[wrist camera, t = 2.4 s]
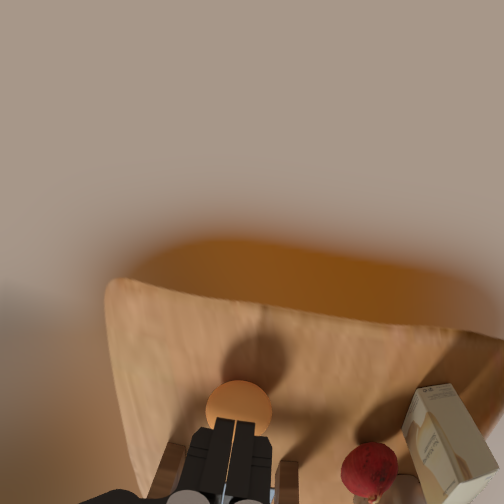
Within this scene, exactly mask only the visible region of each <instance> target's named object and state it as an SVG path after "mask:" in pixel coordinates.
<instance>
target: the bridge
mask: <svg viewBox="0 0 504 504" xmlns="http://www.w3.org/2000/svg"><path fill="white" fill-rule="evenodd" d="M184 463H185V446H181V445H177V444H173V443H167V446H166V448H165V451H164V454H163V456H162V459H161V461H160V464H159V467H158V469H157V472H156V475H155V477H154V480H153V483H152V485H151V488H150V491H149V493H148V496H147V498H146V499H157V498H163V497H166V496H168V495H170V494H171V493H173V492H174V491H175V489H176V488H177V486H178V483H179V479H180V476H181V473H182V469H183V466H184ZM274 504H299V483H298V462H290V461H280V462H279V465H278V468H277V471H276V474H275V495H274Z"/></svg>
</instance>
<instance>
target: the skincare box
mask: <svg viewBox="0 0 504 504" xmlns="http://www.w3.org/2000/svg"><path fill="white" fill-rule="evenodd" d="M402 432H403V435H404V438H405V440H406V443H407V446H408V448H409V451H410V454H411V457H412V460H413V463H414V465H415V468H416V471H417V474H418V477H419V480H420V483H421V486H422V489H423V493H424V496H425V499H426V502H427V504H470V503H471V502H472V501H473V500H474V499H475V498H476V496H477V495H478V494H479V493H480V492H481V491H482V490H483V489H484V488H485V487H486V485H487V484H488V482H489V481H490V480H491V479H492V478H493V476H494V475H495V474H496V473H497V471H498V470H499V466H498V464H497V462H496V460H495V459H494V457H493V455H492V453H491V451H490V449H489V447H488V446H487V444H486V442H485V440H484V438H483V436H482V435H481V433H480V431H479V429H478V428H477V426H476V424H475V423H474V421H473V419H472V417H471V416H470V414H469V412H468V411H467V409H466V407H465V406H464V404H463V402H462V401H461V399H460V397H459V396H458V394H457V392H456V391H455V389H454V388H453V386H452V385H451V384H443V385H436V386H429V387H424V388H418V389H417V390H416V392H415V394H414V397H413V399H412V402H411V404H410V407H409V410H408V412H407V415H406V418H405V420H404V423H403V426H402Z"/></svg>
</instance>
